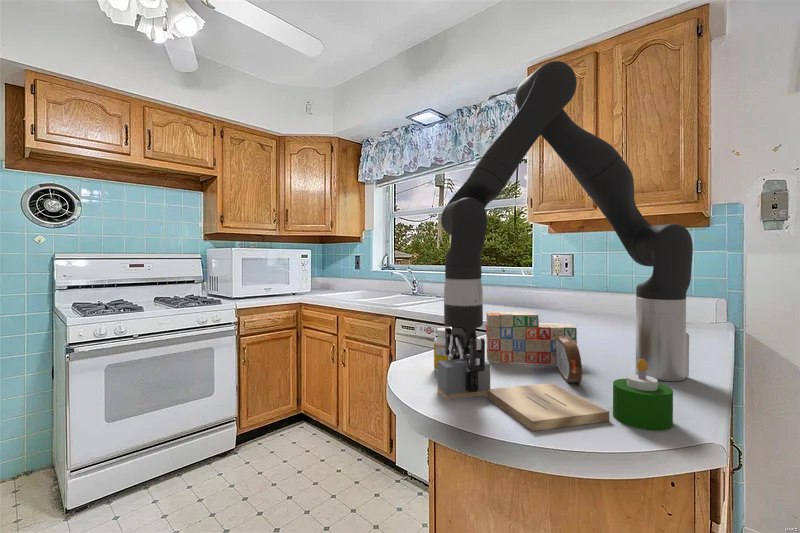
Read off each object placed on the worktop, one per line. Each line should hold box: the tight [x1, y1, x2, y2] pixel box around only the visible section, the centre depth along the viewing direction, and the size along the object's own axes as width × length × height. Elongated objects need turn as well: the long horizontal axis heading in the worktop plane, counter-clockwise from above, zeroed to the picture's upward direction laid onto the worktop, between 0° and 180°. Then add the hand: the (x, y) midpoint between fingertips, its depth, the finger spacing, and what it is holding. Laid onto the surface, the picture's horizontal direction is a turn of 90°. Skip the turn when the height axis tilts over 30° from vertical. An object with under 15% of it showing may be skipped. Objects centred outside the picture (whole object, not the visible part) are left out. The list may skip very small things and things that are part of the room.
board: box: [486, 382, 610, 432], centre depth 69 cm, size 14×15×2 cm
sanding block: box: [437, 358, 491, 400], centre depth 77 cm, size 5×9×6 cm, turn 104°
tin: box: [555, 336, 583, 384], centre depth 87 cm, size 15×3×8 cm, turn 168°
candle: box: [612, 359, 674, 432], centre depth 64 cm, size 8×8×10 cm
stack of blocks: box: [485, 311, 578, 365], centre depth 101 cm, size 21×6×12 cm, turn 81°
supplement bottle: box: [433, 327, 449, 372], centre depth 92 cm, size 5×5×10 cm
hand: (463, 384), depth 78 cm, fingers open, 7 cm apart
